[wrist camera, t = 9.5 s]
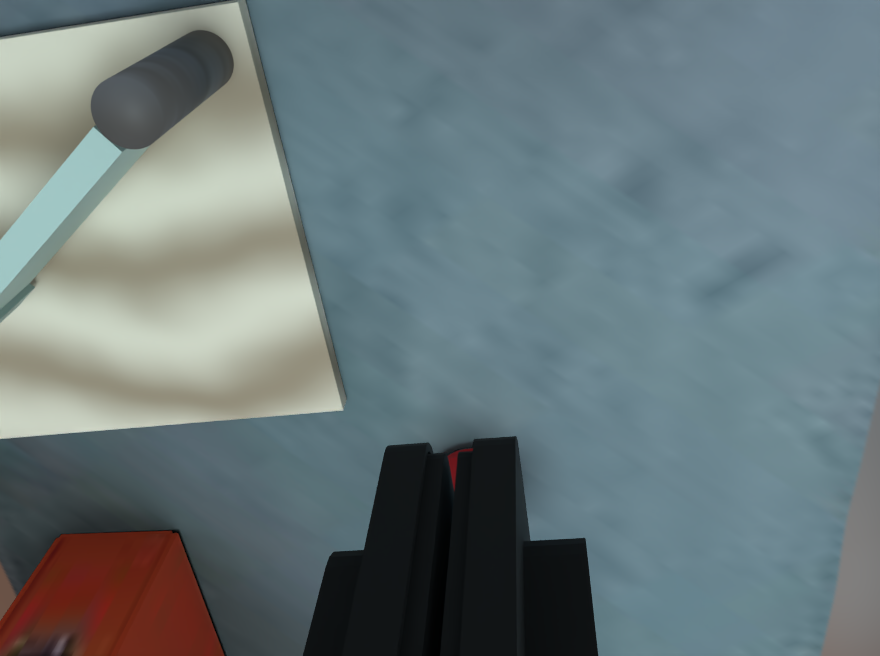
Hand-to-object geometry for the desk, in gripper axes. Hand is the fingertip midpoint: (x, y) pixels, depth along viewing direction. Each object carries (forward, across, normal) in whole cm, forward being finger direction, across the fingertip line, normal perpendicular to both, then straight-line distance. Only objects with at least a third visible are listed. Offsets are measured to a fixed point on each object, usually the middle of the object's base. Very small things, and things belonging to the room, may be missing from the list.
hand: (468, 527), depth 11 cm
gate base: (+27, +20, +6) cm, 34 cm away
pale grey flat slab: (+26, +19, +3) cm, 32 cm away
